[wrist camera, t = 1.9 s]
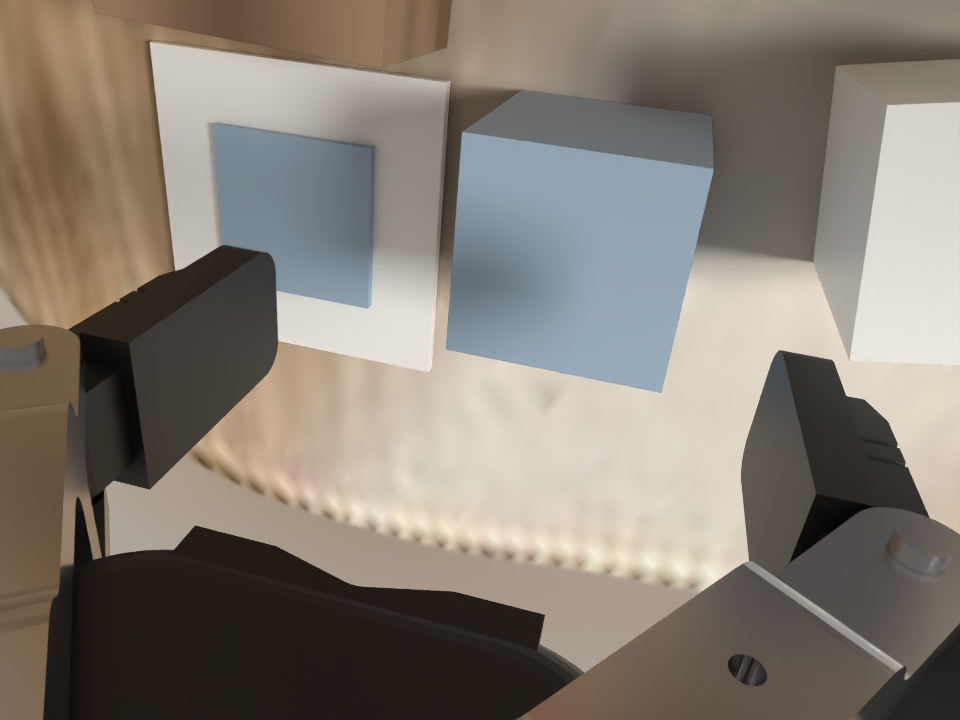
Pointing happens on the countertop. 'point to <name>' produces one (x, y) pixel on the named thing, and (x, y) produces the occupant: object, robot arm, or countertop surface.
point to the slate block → (577, 235)
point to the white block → (893, 211)
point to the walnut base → (305, 24)
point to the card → (312, 189)
